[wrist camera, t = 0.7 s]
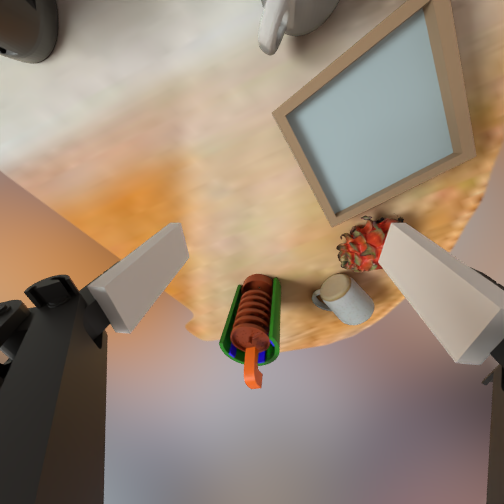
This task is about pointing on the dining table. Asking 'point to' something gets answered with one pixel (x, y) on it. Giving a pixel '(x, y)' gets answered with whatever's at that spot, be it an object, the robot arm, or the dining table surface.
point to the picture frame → (383, 113)
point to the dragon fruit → (365, 245)
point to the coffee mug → (291, 20)
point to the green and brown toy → (253, 326)
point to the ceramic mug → (344, 299)
